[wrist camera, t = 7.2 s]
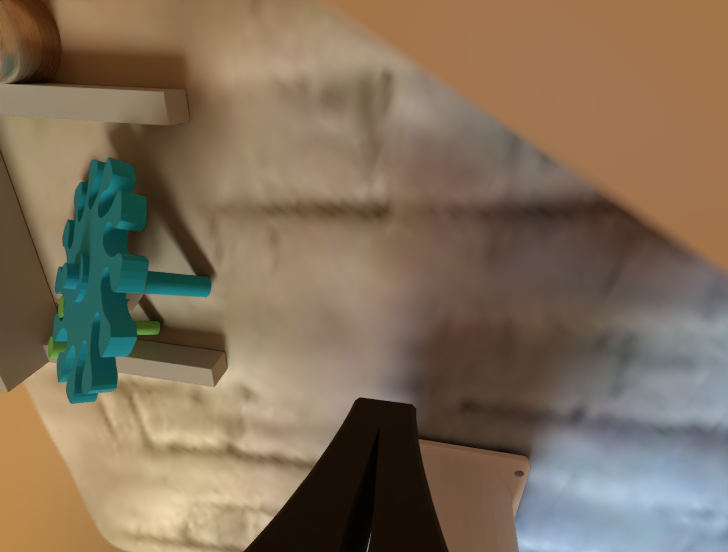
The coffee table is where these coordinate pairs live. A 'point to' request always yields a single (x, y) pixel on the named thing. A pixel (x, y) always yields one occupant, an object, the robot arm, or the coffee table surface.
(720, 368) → the coffee table surface
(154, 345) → the cradle
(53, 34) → the bushing
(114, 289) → the gear
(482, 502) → the robot arm
